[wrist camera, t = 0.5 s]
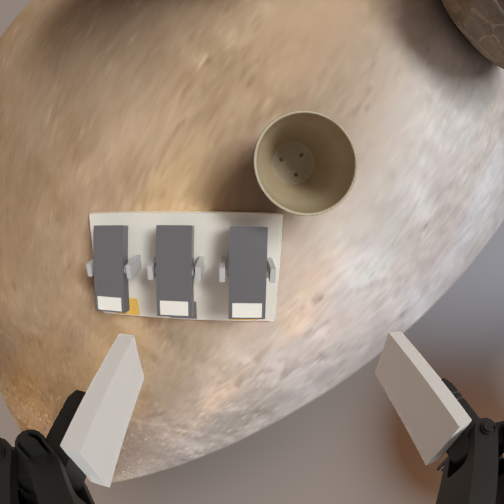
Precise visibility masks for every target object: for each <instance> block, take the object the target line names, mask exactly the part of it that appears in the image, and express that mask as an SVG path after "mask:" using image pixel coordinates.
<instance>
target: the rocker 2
mask: <svg viewBox="0 0 504 504" xmlns="http://www.w3.org/2000/svg"><path fill="white" fill-rule="evenodd" d="M155 275H156V299H157V316H168V317H187V318H192V317H193V315H194V276H195V267H194V226H193V225H156V267H155Z"/></svg>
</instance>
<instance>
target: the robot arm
mask: <svg viewBox="0 0 504 504" xmlns="http://www.w3.org/2000/svg"><path fill="white" fill-rule="evenodd" d="M375 375H376V376H377V378H378V380H379V382H380V383H381V385H382V386H383V388H384V390H385V392H386V393H387V395H388V397H389V399H390V400H391V402H392V404H393V406H394V407H395V409H396V411H397V413H398V415H399V416H400V418H401V420H402V422H403V423H404V425H405V427H406V429H407V431H408V432H409V434H410V436H411V438H412V440H413V442H414V444H415V445H416V447H417V449H418V451H419V453H420V455H421V456H422V459H423V460H424V462H425V464H426V465H428V464H430V463H432V462H434V461H437V460H439V459H440V458H441V457H442V455H443V454H444V453H445V452H447V454H448V457H447V458H446V459H445V460H444V461H443V462H442V463H441V464H440V465H439V466H438V468H437V470H439V469H440V468H441V467H442V466H443V465H444V468H443V469H442V470H441V471H443V475H442V480H441V485H440V489H439V493H438V498H437V501H436V504H504V458H503V456H502V454H503V453H504V421H502V422H497V423H494V422H493V421H492V420H491V419H488V418H481V419H480V418H479V417H478V416H477V415H476V413H475V412H474V411H473V409H472V408H471V407H470V406H469V404H468V403H467V402H466V400H465V399H464V398H462V395H461V394H460V393H459V392H458V390H457V389H456V388H455V387H454V385H453V384H452V383H451V382H449V381H448V380H446V379H445V378H443V379H440V377H439V376H438V375H437V374H436V373H435V371H434V370H433V369H432V368H431V366H430V365H429V364H428V363H427V362H426V360H425V359H424V358H423V357H422V356H421V354H420V353H419V352H418V351H417V349H416V348H415V347H414V346H413V345H412V344H411V342H410V341H409V340H408V339H407V338H406V337H405V335H404V334H403V333H402V332H401V331H398V332H390V333H389V334H388V337H387V340H386V343H385V346H384V349H383V352H382V355H381V357H380V360H379V363H378V366H377V368H376V371H375ZM143 380H144V375H143V371H142V367H141V363H140V359H139V355H138V351H137V346H136V342H135V337H134V335H128V334H119V335H118V337H117V338H116V340H115V342H114V343H113V345H112V347H111V348H110V350H109V352H108V354H107V355H106V357H105V359H104V361H103V362H102V364H101V366H100V368H99V370H98V371H97V373H96V375H95V377H94V379H93V380H92V382H91V384H90V386H89V388H88V390H87V392H83V391H79V390H76V391H75V392H74V393H72V394H71V395H70V396H69V397H68V398H67V400H66V402H65V403H64V405H63V408H62V409H61V411H60V412H59V415H58V416H57V418H56V420H55V422H54V424H53V426H52V428H51V430H50V431H49V433H48V435H47V437H46V438H45V437H44V436H43V435H42V434H41V433H40V432H39V431H36V430H25V431H23V432H21V433H20V434H19V435H18V436H17V438H16V441H15V447H16V448H15V447H12V446H11V445H10V444H9V443H8V442H7V441H6V440H5V439H2V438H0V504H95V503H94V501H93V499H92V497H91V495H90V492H89V490H88V488H87V486H86V484H85V483H84V481H85V478H86V476H87V477H88V478H89V479H90V481H91V482H93V483H96V484H100V485H103V486H106V487H110V485H111V481H112V478H113V474H114V470H115V467H116V463H117V460H118V457H119V453H120V450H121V447H122V443H123V440H124V437H125V434H126V431H127V427H128V424H129V421H130V418H131V415H132V412H133V409H134V406H135V403H136V400H137V398H138V395H139V392H140V389H141V386H142V383H143Z"/></svg>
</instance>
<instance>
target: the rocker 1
mask: <svg viewBox="0 0 504 504" xmlns="http://www.w3.org/2000/svg"><path fill="white" fill-rule="evenodd" d="M127 263H128V226H126V225H97V226H94V232H93V265H94V267H93V270H94V289H95V303H96V310H97V311H107V312H117V313H126V312H128V311H129V310H130V305H129V284H128V279H127V274H126V266H125V265H126V264H127Z"/></svg>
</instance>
